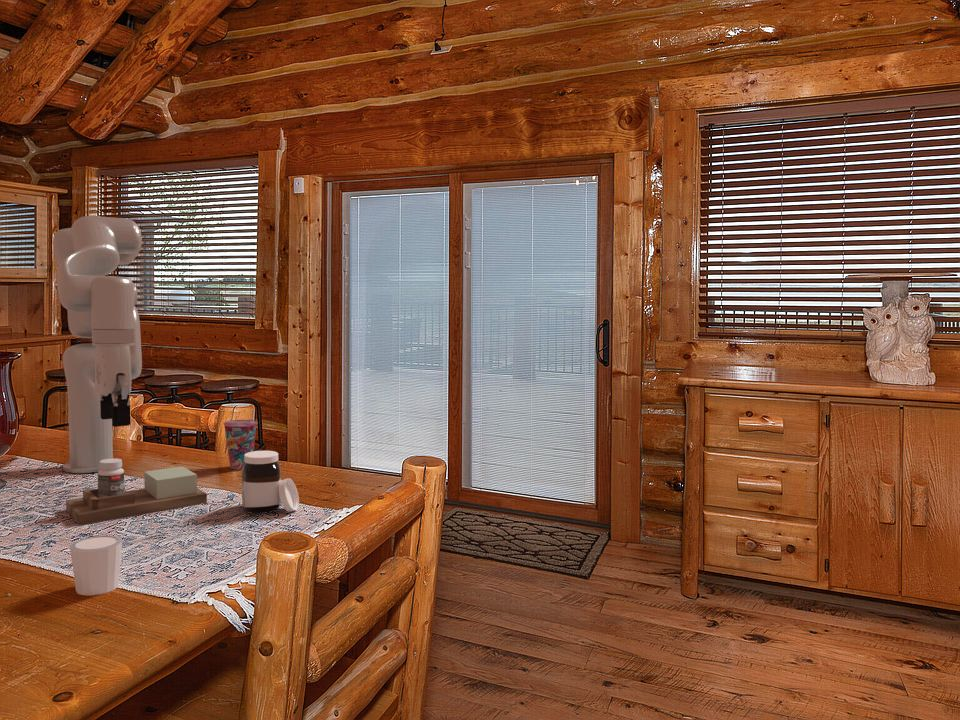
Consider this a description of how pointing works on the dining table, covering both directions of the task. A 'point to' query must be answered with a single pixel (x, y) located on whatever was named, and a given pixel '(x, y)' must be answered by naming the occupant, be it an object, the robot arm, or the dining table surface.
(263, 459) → the spread jar
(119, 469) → the pill bottle
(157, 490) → the pale green block
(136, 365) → the robot arm
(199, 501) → the housing
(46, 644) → the dining table surface
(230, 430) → the cup
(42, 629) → the dining table surface
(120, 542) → the white tapered cylinder
